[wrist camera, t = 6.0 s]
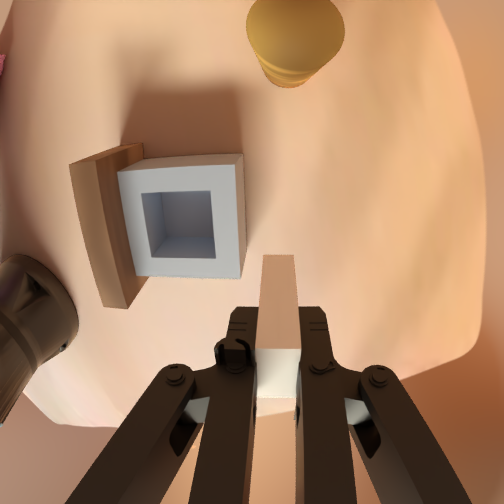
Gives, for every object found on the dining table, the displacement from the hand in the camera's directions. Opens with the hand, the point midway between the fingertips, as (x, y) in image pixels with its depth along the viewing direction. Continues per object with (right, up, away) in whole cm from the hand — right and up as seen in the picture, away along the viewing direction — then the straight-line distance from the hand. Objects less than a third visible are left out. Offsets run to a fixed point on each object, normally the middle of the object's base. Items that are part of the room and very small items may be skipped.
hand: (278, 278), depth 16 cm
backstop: (-12, +6, +12) cm, 18 cm away
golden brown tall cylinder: (+1, +16, +5) cm, 17 cm away
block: (-6, +6, +12) cm, 14 cm away
